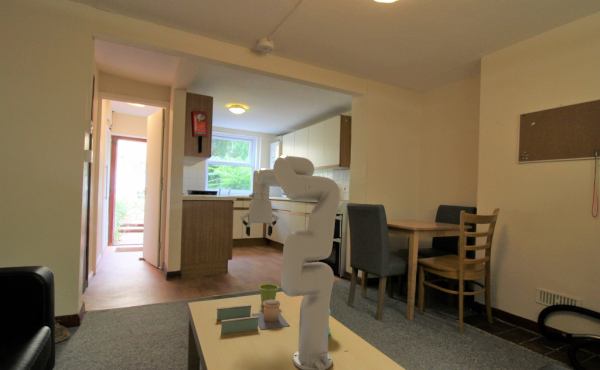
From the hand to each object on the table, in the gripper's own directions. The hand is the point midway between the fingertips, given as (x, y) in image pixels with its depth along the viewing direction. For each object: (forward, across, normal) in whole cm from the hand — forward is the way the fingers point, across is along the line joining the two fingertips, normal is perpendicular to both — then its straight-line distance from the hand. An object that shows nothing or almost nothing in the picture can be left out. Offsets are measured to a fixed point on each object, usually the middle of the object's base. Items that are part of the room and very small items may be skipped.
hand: (259, 235), depth 139 cm
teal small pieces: (+35, +18, -26) cm, 47 cm away
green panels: (+34, -10, -9) cm, 37 cm away
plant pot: (+34, +8, +8) cm, 36 cm away
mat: (+34, +4, -9) cm, 36 cm away
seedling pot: (+34, +4, -9) cm, 36 cm away
